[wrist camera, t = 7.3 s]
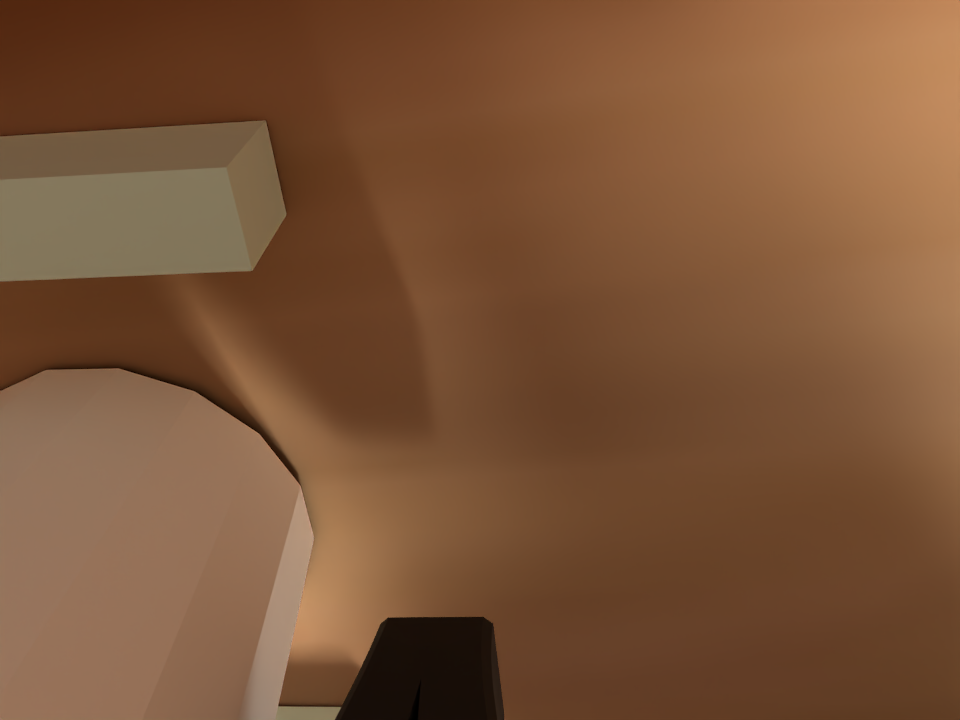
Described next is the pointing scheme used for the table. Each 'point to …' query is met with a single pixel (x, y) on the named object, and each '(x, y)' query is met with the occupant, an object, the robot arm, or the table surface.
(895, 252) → the table surface
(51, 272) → the pale green angular frame
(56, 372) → the beige faceted cylinder
